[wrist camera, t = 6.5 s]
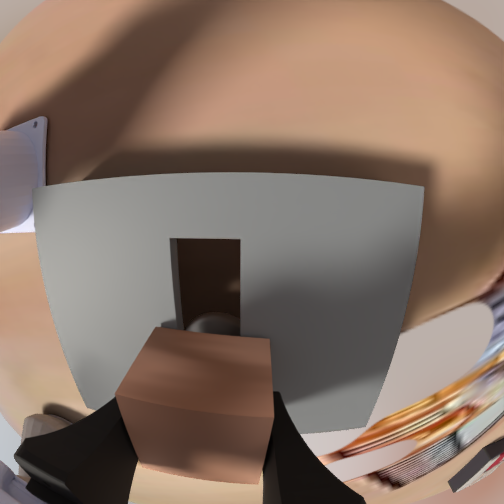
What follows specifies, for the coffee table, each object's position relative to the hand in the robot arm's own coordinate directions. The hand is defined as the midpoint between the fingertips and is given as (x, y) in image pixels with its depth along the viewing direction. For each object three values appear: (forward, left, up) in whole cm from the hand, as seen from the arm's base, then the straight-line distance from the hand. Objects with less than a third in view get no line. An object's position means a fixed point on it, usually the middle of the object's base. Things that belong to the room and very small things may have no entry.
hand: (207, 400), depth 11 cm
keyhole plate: (0, +3, -6) cm, 6 cm away
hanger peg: (0, 0, -4) cm, 4 cm away
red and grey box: (+48, -35, -6) cm, 59 cm away
